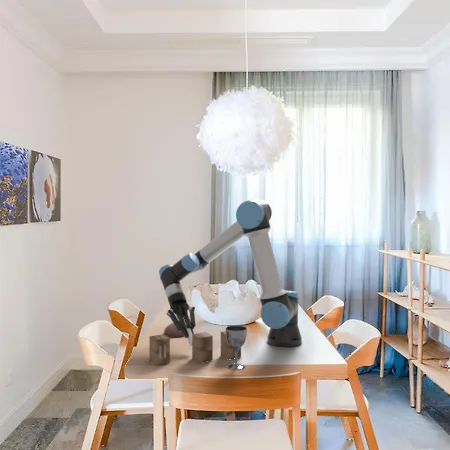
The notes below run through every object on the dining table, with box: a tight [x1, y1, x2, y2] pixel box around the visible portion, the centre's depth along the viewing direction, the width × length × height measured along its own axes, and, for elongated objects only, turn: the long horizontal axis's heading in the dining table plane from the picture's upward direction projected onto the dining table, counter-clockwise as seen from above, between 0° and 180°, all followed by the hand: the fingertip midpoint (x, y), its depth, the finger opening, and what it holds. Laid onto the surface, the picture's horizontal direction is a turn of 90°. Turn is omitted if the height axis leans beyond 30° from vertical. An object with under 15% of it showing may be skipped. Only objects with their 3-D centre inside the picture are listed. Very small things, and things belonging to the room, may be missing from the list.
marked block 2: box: [220, 330, 242, 361], centre depth 192 cm, size 6×6×10 cm
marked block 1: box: [148, 334, 171, 367], centre depth 185 cm, size 6×6×10 cm
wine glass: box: [225, 324, 248, 371], centre depth 180 cm, size 8×8×15 cm
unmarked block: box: [191, 331, 214, 364], centre depth 188 cm, size 6×6×10 cm
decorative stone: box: [163, 322, 187, 338], centre depth 224 cm, size 12×12×6 cm
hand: (192, 343), depth 196 cm, fingers closed
